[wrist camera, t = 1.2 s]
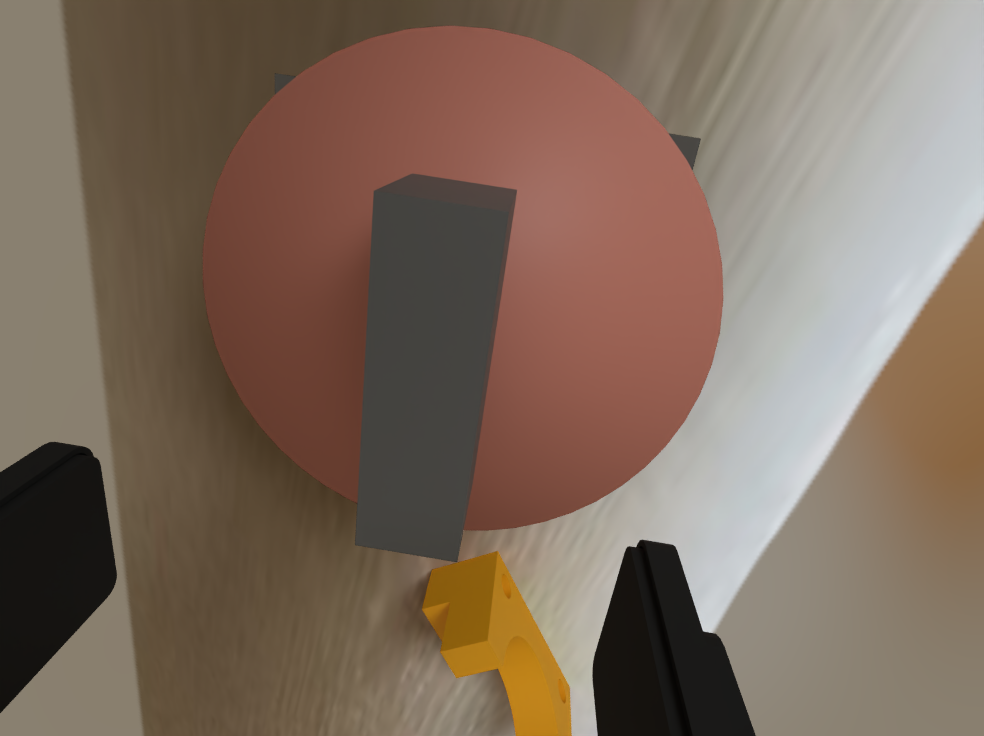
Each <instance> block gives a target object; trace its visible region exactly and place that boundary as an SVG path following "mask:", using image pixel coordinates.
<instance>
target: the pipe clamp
mask: <svg viewBox="0 0 984 736" xmlns="http://www.w3.org/2000/svg"><path fill="white" fill-rule="evenodd" d="M422 610H423V612H424V613H425V615H426V617H427V618H428V620H429V622H430V623H431V625H432V626H433V628H434V630H435V631H436V633H437V635H438V636H439V638H440V639H441V641H442V645H441V650H440V653H441V654H442V656H443V657H444V659H445V661H446V662H447V664H448V665H449V667H450V669H451V670H452V672H453V673H454V675H455V677H456V678H459V677H464V676H468V675H472V674H477V673H481V672H485V671H490V670H494V669H498V670H499V672H500V675H501V677H502V680H503V682H504V685H505V688H506V691H507V694H508V698H509V702H510V706H511V710H512V715H513V720H514V727H515V734H516V736H572V735H571V709H570V687H569V685H568V683H567V681H566V679H565V677H564V676H563V674H562V672H561V670H560V668H559V666H558V664H557V662H556V660H555V658H554V657H553V655H552V653H551V651H550V649H549V647H548V645H547V643H546V641H545V640H544V638H543V636H542V634H541V632H540V630H539V628H538V626H537V624H536V623H535V621H534V619H533V617H532V615H531V613H530V611H529V609H528V607H527V605H526V604H525V602H524V600H523V598H522V596H521V594H520V592H519V590H518V588H517V587H516V585H515V583H514V581H513V579H512V577H511V575H510V573H509V571H508V570H507V568H506V566H505V564H504V562H503V560H502V558H501V556H500V554H499V552H498V551H496V552H493V553H489V554H486V555H482V556H479V557H475V558H472V559H468V560H465V561H461V562H458V563H454V564H450V565H447V566H443V567H440V568H436V569H433V570H432V571H431V575H430V579H429V583H428V587H427V591H426V595H425V599H424V603H423V607H422Z"/></svg>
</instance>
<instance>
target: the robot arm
mask: <svg viewBox="0 0 984 736" xmlns="http://www.w3.org/2000/svg"><path fill="white" fill-rule="evenodd" d="M116 578H117V572H116V566H115V558H114V552H113V545H112V538H111V532H110V525H109V518H108V512H107V505H106V498H105V491H104V485H103V478H102V472H101V465H100V462H99V460H98V459H97V458H95V457H94V456H93V453H92V452H91V450H90V449H88V448H86V447H83V446H76V445H71V444H65V443H58V442H49V443H47V444H44V445H43V446H41V447H39V448H38V449H36V450H35V451H33V452H31V453H30V454H28V455H27V456H25V457H24V458H22V459H20V460H19V461H17V462H16V463H14V464H13V465H11V466H10V467H8V468H6V469H5V470H3V471H2V472H0V713H1V712H2V711H3V710H4V709H5V707H6V706H7V705H8V704H9V703H10V702H11V701H12V700H13V699H14V698H15V697H16V695H18V694H19V692H20V691H21V690H22V689H23V688H24V687H25V686H26V685H27V684H28V683H29V682H30V681H31V679H32V678H33V677H34V676H35V675H36V674H37V673H38V672H39V671H40V670H41V669H42V668H43V666H44V665H45V664H46V663H47V662H48V661H49V660H50V659H51V658H52V657H53V656H54V655H55V654H56V652H57V651H58V650H59V649H60V648H61V647H62V646H63V645H64V644H65V643H66V641H68V639H69V638H70V637H71V636H72V635H73V634H74V633H75V632H76V631H77V630H78V629H79V628H80V626H81V625H82V624H83V623H84V622H85V621H86V620H87V619H88V618H89V617H90V616H91V614H92V613H93V612H94V611H95V610H96V609H97V608H98V607H99V606H100V605H101V604H102V603H103V602H104V601H105V599H106V598H107V597H108V596H109V595H110V593H111V592H112V590H113V588H114V585H115V583H116ZM593 689H594V699H595V710H596V721H597V732H598V736H755V733H754V730H753V727H752V724H751V721H750V718H749V715H748V713H747V710H746V707H745V704H744V701H743V698H742V695H741V693H740V690H739V687H738V684H737V681H736V678H735V676H734V673H733V670H732V667H731V664H730V661H729V658H728V656H727V653H726V650H725V647H724V645H723V643H722V641H721V639H720V638H719V637H718V636H717V635H716V634H714V633H708V632H703V630H702V627H701V624H700V621H699V618H698V615H697V612H696V608H695V605H694V602H693V599H692V596H691V593H690V590H689V587H688V583H687V580H686V577H685V574H684V571H683V568H682V565H681V561H680V558H679V555H678V552H677V550H676V547H675V546H674V545H671V544H665V543H659V542H653V541H647V540H640V541H639V543H638V544H637V547H630V546H629V547H627V548H626V551H625V553H624V557H623V560H622V564H621V567H620V571H619V574H618V577H617V581H616V584H615V588H614V591H613V594H612V598H611V601H610V605H609V608H608V611H607V615H606V618H605V622H604V625H603V628H602V632H601V635H600V639H599V642H598V646H597V649H596V652H595V656H594V661H593Z"/></svg>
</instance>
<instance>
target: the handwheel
mask: <svg viewBox="0 0 984 736" xmlns="http://www.w3.org/2000/svg"><path fill="white" fill-rule="evenodd" d="M203 287H204V294H205V302H206V309H207V316H208V319H209V323H210V327H211V330H212V334H213V338H214V342H215V345H216V348H217V350H218V353H219V355H220V358H221V360H222V363H223V365H224V368H225V370H226V373H227V375H228V377H229V378H230V380H231V382H232V384H233V386H234V388H235V389H236V391H237V393H238V395H239V397H240V399H241V400H242V402H243V403H244V405H245V406H246V408H247V409H248V410H249V412H250V413H251V415H252V416H253V418H254V419H255V420H256V422H257V423H258V425H259V426H260V427H261V428H262V429H263V431H264V432H265V433H266V434H267V435H268V436H269V437H270V438H271V440H272V441H273V442H274V443H275V444H276V445H277V446H278V447H279V448H280V449H281V450H282V451H283V452H284V453H285V454H286V455H287V456H288V457H289V458H291V459H292V460H293V461H294V462H295V463H296V464H297V465H298V466H299V467H300V468H302V469H303V470H304V471H306V472H307V473H308V474H310V475H311V476H313V477H314V478H315V479H317V480H318V481H319V482H321V483H322V484H323V485H325V486H327V487H328V488H330V489H332V490H334V491H335V492H337V493H339V494H340V495H342V496H344V497H345V498H347V499H349V500H351V501H353V502H355V503H357V519H356V538H355V545H358V546H364V547H370V548H376V549H382V550H388V551H394V552H400V553H405V554H411V555H417V556H423V557H429V558H435V559H441V560H447V561H452V562H457V560H458V555H459V550H460V545H461V540H462V535H463V530H497V529H508V528H517V527H522V526H526V525H531V524H536V523H541V522H545V521H548V520H551V519H554V518H557V517H560V516H563V515H566V514H569V513H572V512H574V511H576V510H578V509H580V508H583V507H585V506H587V505H589V504H591V503H593V502H596V501H598V500H599V499H601V498H603V497H604V496H606V495H607V494H609V493H611V492H612V491H614V490H616V489H617V488H619V487H620V486H622V485H623V484H625V483H626V482H627V481H628V480H630V479H631V478H632V477H633V476H635V475H636V474H637V473H638V472H640V471H641V470H642V469H644V468H645V467H646V466H647V465H648V464H649V463H650V462H651V461H652V460H653V459H654V458H655V457H656V456H657V455H658V454H659V453H660V452H661V450H662V449H663V448H664V447H665V446H666V445H667V444H668V443H669V441H670V440H671V439H672V437H673V436H674V435H675V433H676V432H677V431H678V429H679V428H680V427H681V425H682V424H683V423H684V421H685V420H686V418H687V416H688V414H689V413H690V411H691V409H692V407H693V406H694V404H695V402H696V400H697V399H698V397H699V395H700V393H701V390H702V388H703V385H704V383H705V380H706V378H707V375H708V373H709V370H710V368H711V365H712V362H713V358H714V354H715V350H716V346H717V342H718V338H719V334H720V325H721V316H722V307H723V278H722V262H721V256H720V251H719V245H718V239H717V234H716V229H715V226H714V223H713V220H712V217H711V214H710V211H709V208H708V205H707V202H706V199H705V196H704V193H703V191H702V189H701V187H700V185H699V183H698V181H697V179H696V177H695V175H694V173H693V171H692V169H691V167H690V165H689V163H688V161H687V160H686V158H685V157H684V155H683V154H682V152H681V151H680V150H679V148H678V147H677V145H676V144H675V142H674V141H673V140H672V138H671V137H670V135H669V134H668V132H667V131H666V129H665V128H664V127H663V126H662V125H661V124H660V123H659V122H658V121H657V120H656V118H655V117H654V116H653V115H652V114H651V113H650V112H649V111H648V110H647V109H646V108H645V107H644V106H643V105H642V104H641V103H640V102H639V100H638V99H637V98H635V97H634V96H633V95H632V94H630V93H629V92H628V91H626V90H625V89H624V88H623V87H621V86H620V85H619V84H618V83H616V82H615V81H614V80H613V79H611V78H610V77H609V76H607V75H606V74H605V73H603V72H601V71H600V70H598V69H596V68H595V67H593V66H591V65H589V64H588V63H586V62H584V61H582V60H581V59H579V58H577V57H575V56H574V55H572V54H570V53H568V52H566V51H563V50H560V49H558V48H555V47H553V46H550V45H548V44H545V43H543V42H540V41H537V40H535V39H532V38H529V37H525V36H521V35H516V34H512V33H507V32H503V31H499V30H494V29H489V28H475V27H462V26H438V27H425V28H412V29H406V30H402V31H397V32H393V33H389V34H385V35H380V36H376V37H372V38H369V39H366V40H364V41H361V42H359V43H357V44H354V45H352V46H349V47H347V48H344V49H342V50H339V51H337V52H335V53H333V54H331V55H329V56H328V57H326V58H324V59H323V60H321V61H319V62H318V63H316V64H315V65H313V66H311V67H310V68H308V69H306V70H305V71H303V72H301V73H300V74H299V75H298V76H297V77H295V78H294V79H293V80H292V81H291V82H289V83H288V84H287V85H286V86H285V87H283V88H282V89H281V90H280V91H279V92H278V93H276V94H275V95H274V96H273V97H272V98H271V99H270V100H269V101H268V103H267V104H266V105H265V106H264V107H263V108H262V109H261V111H260V112H259V113H258V114H257V115H256V116H255V117H254V119H253V120H252V121H251V122H250V123H249V125H248V126H247V128H246V129H245V131H244V133H243V134H242V136H241V137H240V139H239V140H238V142H237V144H236V145H235V147H234V148H233V150H232V151H231V153H230V155H229V157H228V160H227V162H226V164H225V166H224V169H223V171H222V173H221V175H220V178H219V180H218V182H217V184H216V188H215V191H214V195H213V198H212V202H211V206H210V209H209V213H208V216H207V223H206V230H205V238H204V245H203Z"/></svg>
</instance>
